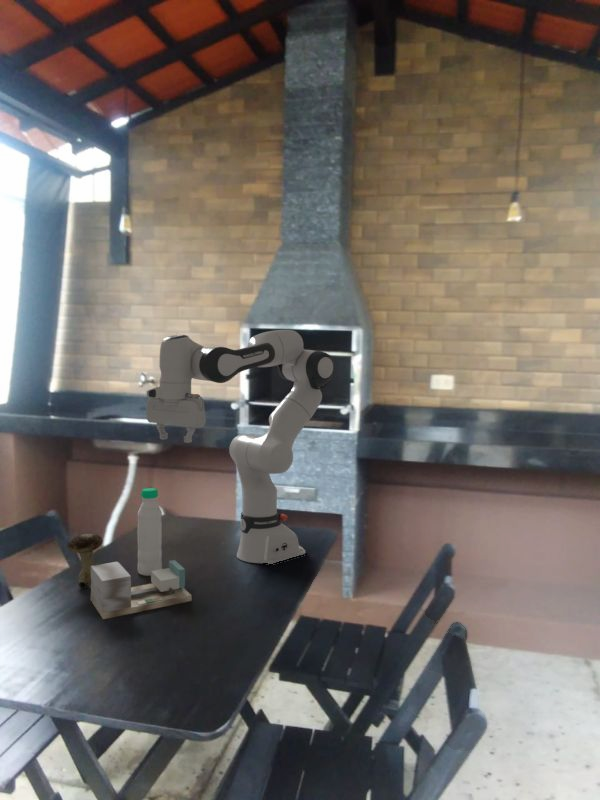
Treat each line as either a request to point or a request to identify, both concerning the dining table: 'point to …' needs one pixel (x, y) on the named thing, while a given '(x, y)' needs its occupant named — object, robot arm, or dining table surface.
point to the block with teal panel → (169, 577)
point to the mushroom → (85, 555)
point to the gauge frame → (127, 592)
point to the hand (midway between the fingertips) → (175, 440)
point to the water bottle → (149, 533)
